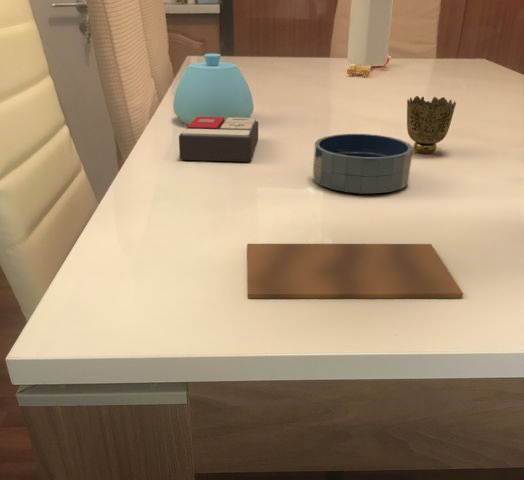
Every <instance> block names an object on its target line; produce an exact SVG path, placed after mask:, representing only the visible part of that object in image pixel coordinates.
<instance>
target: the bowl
mask: <svg viewBox="0 0 524 480" xmlns="http://www.w3.org/2000/svg"><path fill="white" fill-rule="evenodd" d="M313 146H314V147H313V164H312V178H313V181H314V182H316V183H317V184H318V185H319V186H322V187H325V188H327V189H331V190H335V191H338V192H343V193H350V194H359V195H360V194H361V195H371V194H372V195H373V194H384V193H391V192H394V191H399V190H402V189H403V188H404V187H406V186H408V183H409V181H410V180H409V179H410V173H411V166H412V165H411V164H412V158H413V150H414V147H413V146H412V145H411V144H410V143H409V142H407V141H405V140H402V139H399V138H395V137H392V136H386V135H381V134H380V135H379V134H371V133H341V134H340V133H339V134H333V135H328V136H327V135H326V136H324V137H321V138H318V139H317V140H316V141H315V142H314V143H313Z"/></svg>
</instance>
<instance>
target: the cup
mask: <svg viewBox="0 0 524 480" xmlns="http://www.w3.org/2000/svg"><path fill="white" fill-rule="evenodd" d="M406 105H407V107H406V129H407V135H408V137H409V138H410V139H411V140H412V141H413V142H414V143H413V146H412V147H413V150H414V151H415V153H418V154H422V155H429V154H434V153H435V152H436V150H437V148H438V147H437V144H438V143H440V142H441V141H444V139H445V138H446V136H447V134H448V133H449V130H450V126H451V123H452V119H453V115H454V113H455V107H456V105H457V102H456V100H454V101H453V99H450V100H448V99H446V97H444V96H443V97H440V98H437V97H436V96H434V97H433V98H432V99H431V101H429V100H428V101H426V100H425V97H424V96H421V98H420V97H419V95H416V96H414V98H412V97H409V98H407V101H406Z"/></svg>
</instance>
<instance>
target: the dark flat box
mask: <svg viewBox="0 0 524 480" xmlns="http://www.w3.org/2000/svg"><path fill="white" fill-rule="evenodd" d="M258 140H259V121H258V120H256V118H255V117H249V118H227V119H226V120H224V117H196V118H195V119H194V120H193V121H192V122H191V123H190V124H189V125H187V126H186V128H185V129H184V130H182V132H181V133H180V134H179V135H178V148H179V159H180V160H181V161H210V162H211V161H212V162H213V161H216V162H244V163H245V162H247V163H248V162H249V163H250V162H251V161H252V159H253V157H254V151H255V148H256V145H257V143H258Z"/></svg>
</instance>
